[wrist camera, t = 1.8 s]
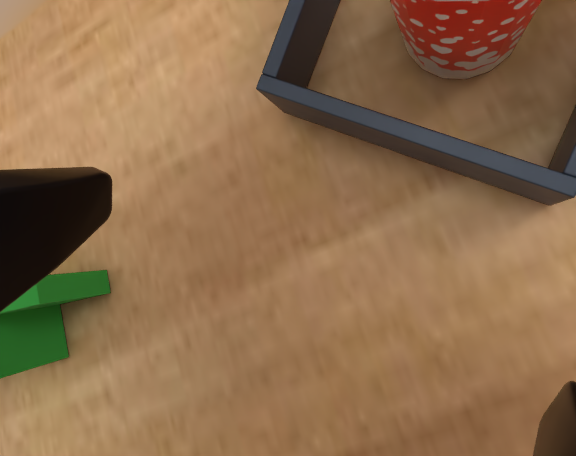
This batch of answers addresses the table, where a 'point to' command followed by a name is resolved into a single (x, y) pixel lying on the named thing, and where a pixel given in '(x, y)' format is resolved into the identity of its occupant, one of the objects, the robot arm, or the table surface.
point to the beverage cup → (462, 33)
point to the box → (394, 132)
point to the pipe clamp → (43, 320)
